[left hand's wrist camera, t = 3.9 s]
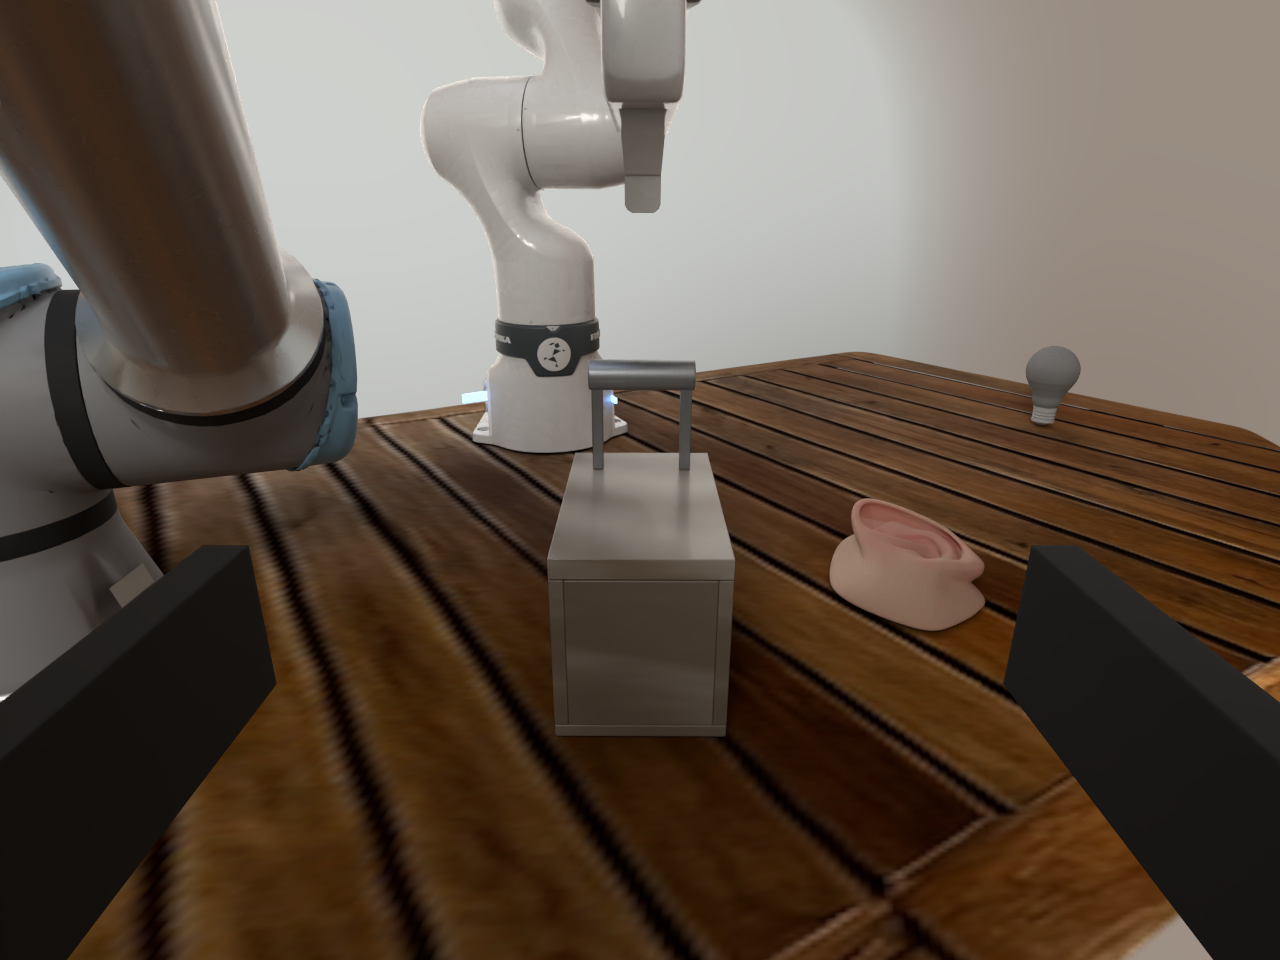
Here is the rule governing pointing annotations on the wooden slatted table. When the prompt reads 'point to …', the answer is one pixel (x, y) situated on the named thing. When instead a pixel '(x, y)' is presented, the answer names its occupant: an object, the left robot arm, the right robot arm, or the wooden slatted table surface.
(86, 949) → the wooden slatted table surface
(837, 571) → the anatomical model
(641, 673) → the chest
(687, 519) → the lid
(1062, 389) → the light bulb
